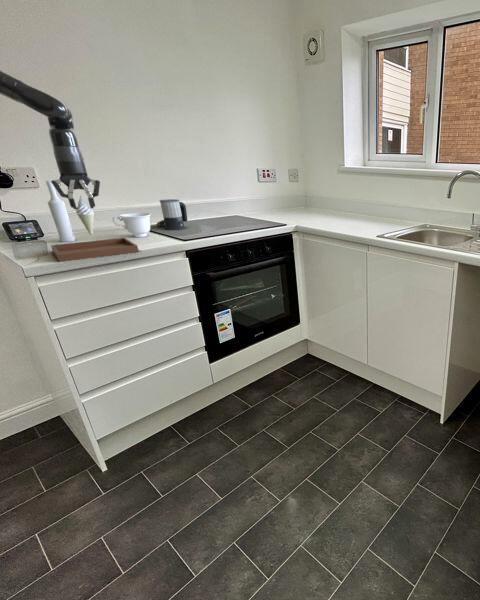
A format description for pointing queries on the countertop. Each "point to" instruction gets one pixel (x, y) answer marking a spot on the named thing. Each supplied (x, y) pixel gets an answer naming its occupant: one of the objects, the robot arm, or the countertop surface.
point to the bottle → (60, 215)
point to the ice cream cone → (85, 215)
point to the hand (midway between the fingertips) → (83, 208)
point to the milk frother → (173, 214)
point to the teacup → (135, 223)
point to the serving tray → (93, 249)
